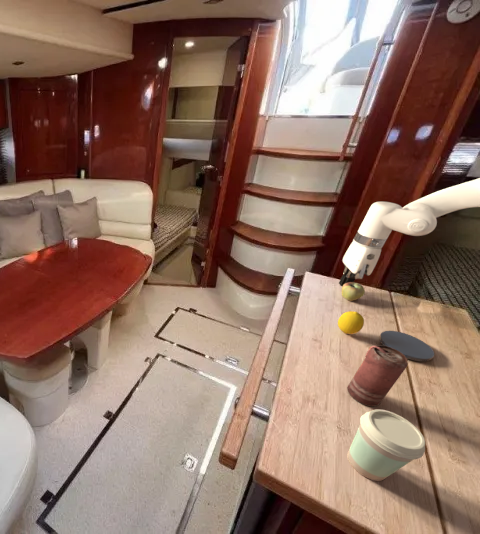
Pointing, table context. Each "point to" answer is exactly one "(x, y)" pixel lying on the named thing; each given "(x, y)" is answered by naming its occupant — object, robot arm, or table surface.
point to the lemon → (350, 322)
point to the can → (377, 375)
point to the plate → (407, 345)
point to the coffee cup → (384, 444)
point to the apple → (352, 291)
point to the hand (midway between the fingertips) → (344, 285)
